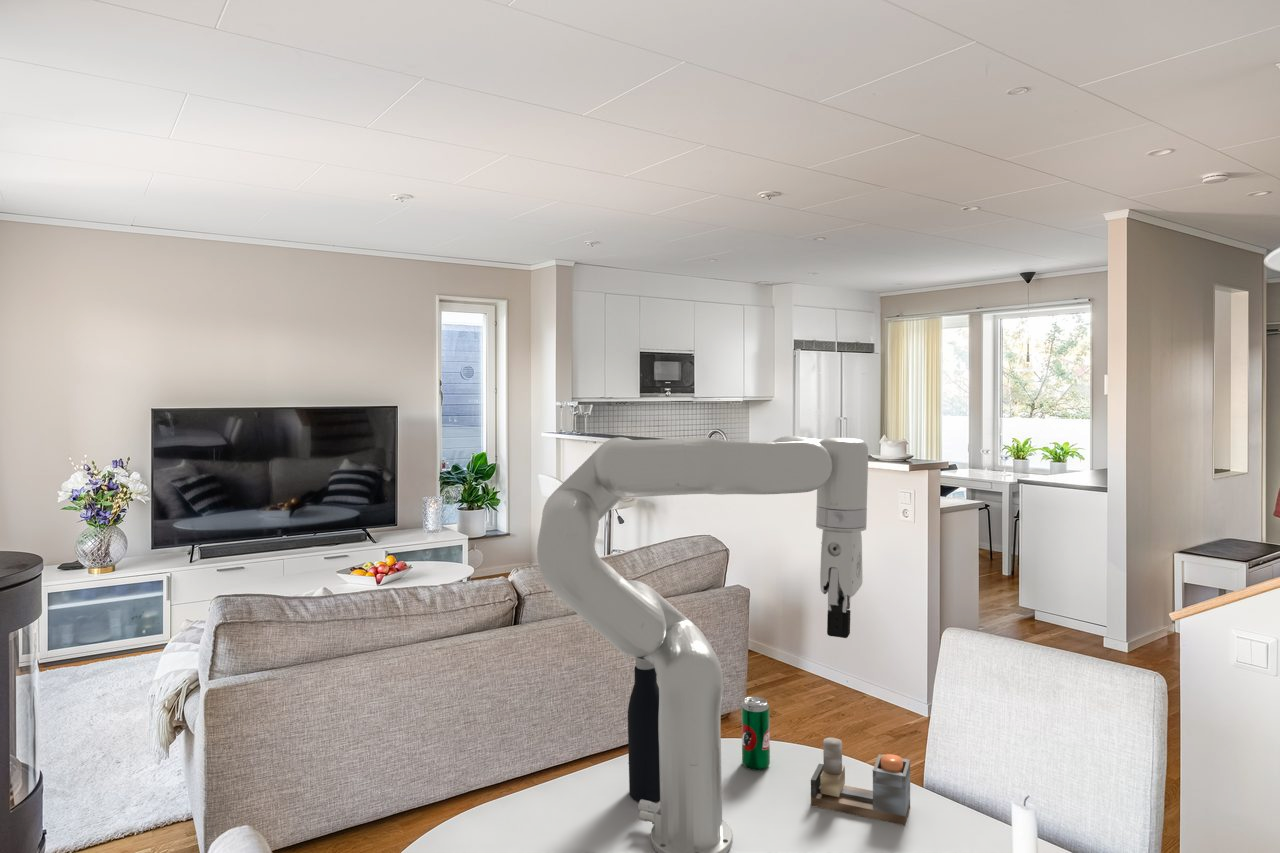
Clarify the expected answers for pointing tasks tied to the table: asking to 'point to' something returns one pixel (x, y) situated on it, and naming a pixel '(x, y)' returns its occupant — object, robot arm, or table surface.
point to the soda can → (755, 733)
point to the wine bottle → (644, 734)
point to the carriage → (832, 768)
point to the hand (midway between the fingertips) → (838, 635)
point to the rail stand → (870, 795)
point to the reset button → (892, 763)
